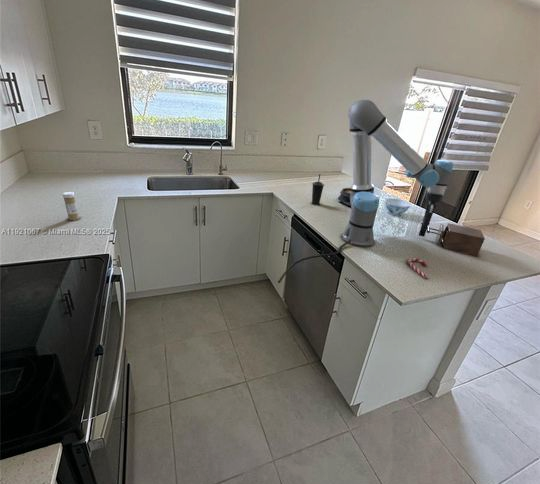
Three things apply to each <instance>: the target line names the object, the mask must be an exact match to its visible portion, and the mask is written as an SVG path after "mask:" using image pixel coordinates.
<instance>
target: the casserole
mask: <svg viewBox="0 0 540 484" xmlns="http://www.w3.org/2000/svg"><path fill="white" fill-rule="evenodd" d="M339 194H340V195H338V197H337V200H338V201H339V202H341V203H343V204H345V205H347V206H350V207H351V203H350V187H345V188H342V189H341V191H340V192H339Z"/></svg>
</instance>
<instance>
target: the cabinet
mask: <svg viewBox="0 0 540 484" xmlns="http://www.w3.org/2000/svg"><path fill="white" fill-rule="evenodd" d="M446 226H448V229H449V234H448V236H447V239H446V242H445V244H444V245H443V244H442V248H443V249H444V250H449V251H452V252H457V253H461V254H464V255H465V254H466V255H469V256H474V257H478V255H479V254H480V251H481V249H482V246H483V244H484V242H485V240H486V238H485V235H484V234H483V231H482V229H478V228H473V227H468V226H463V225H459V224H454V223H450V222H448V223H447V224H446Z"/></svg>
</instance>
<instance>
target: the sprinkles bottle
mask: <svg viewBox="0 0 540 484" xmlns="http://www.w3.org/2000/svg"><path fill="white" fill-rule="evenodd" d="M62 198H63V201H64V205H65V206H64V207H65V210H66V213H67V218H68V220H69V221H77V220H79V219H80V216H79V210H78V207H77V203H76V199H75V193H74V191H65V192H62Z"/></svg>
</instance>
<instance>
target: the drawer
mask: <svg viewBox="0 0 540 484" xmlns="http://www.w3.org/2000/svg"><path fill="white" fill-rule="evenodd" d="M426 233H427V234H434V235H436V237H435V240H436V245H437V246H440V245H441V244H442V246H443V245H444V244H445V242H446V239H447V236H448V234H449V229H448V226H447V225H445V227H444V224H443V223H440V225H439V227H438V229H437V228H433V227H430V226H428V227H427V230H426Z"/></svg>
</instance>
